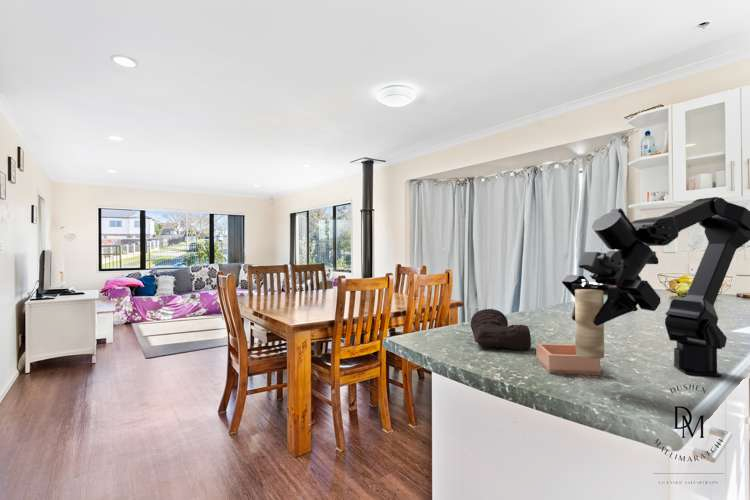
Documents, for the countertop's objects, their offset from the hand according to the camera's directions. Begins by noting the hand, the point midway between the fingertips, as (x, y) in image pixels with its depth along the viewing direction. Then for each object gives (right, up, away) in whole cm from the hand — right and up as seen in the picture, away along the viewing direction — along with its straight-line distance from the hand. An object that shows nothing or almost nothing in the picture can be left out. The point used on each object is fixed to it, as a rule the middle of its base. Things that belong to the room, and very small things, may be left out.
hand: (583, 321), depth 77 cm
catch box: (+3, -13, +13) cm, 19 cm away
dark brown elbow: (-6, -13, +35) cm, 38 cm away
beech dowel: (+1, -7, 0) cm, 7 cm away
